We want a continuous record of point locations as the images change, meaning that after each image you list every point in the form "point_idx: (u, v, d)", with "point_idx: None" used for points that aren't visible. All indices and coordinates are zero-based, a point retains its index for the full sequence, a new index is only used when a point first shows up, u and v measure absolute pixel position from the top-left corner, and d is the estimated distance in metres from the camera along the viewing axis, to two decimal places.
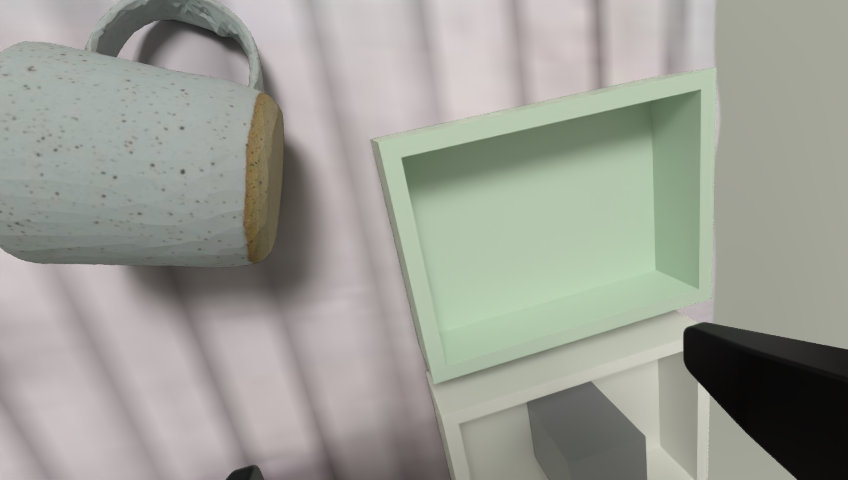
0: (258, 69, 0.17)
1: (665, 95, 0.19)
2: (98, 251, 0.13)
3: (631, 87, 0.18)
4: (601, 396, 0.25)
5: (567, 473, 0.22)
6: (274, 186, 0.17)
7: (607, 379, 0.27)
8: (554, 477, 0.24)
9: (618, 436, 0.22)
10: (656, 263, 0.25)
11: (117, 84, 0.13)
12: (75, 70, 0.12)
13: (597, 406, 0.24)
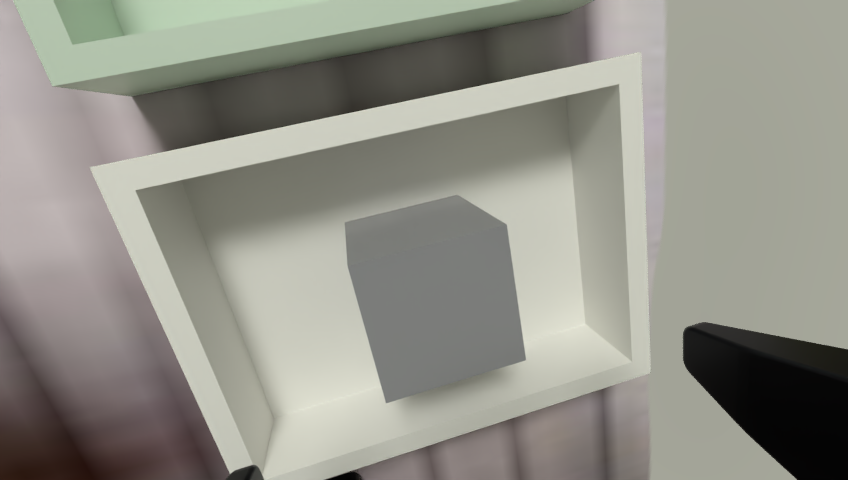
0: None
1: None
2: None
3: None
4: (462, 203, 0.15)
5: (355, 293, 0.11)
6: None
7: (486, 195, 0.16)
8: None
9: (459, 230, 0.12)
10: None
11: None
12: None
13: (448, 211, 0.14)
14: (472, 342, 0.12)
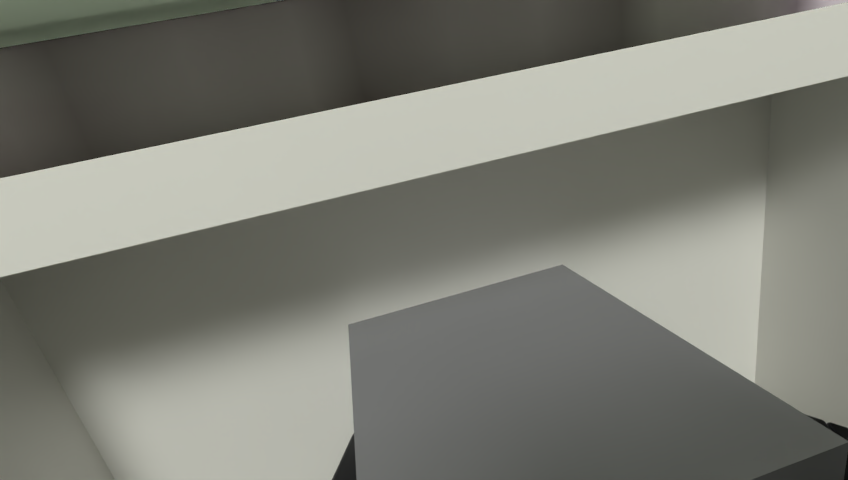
0: None
1: None
2: None
3: None
4: (595, 296, 0.07)
5: None
6: None
7: (614, 264, 0.09)
8: None
9: (684, 444, 0.04)
10: None
11: None
12: None
13: (579, 323, 0.06)
14: None
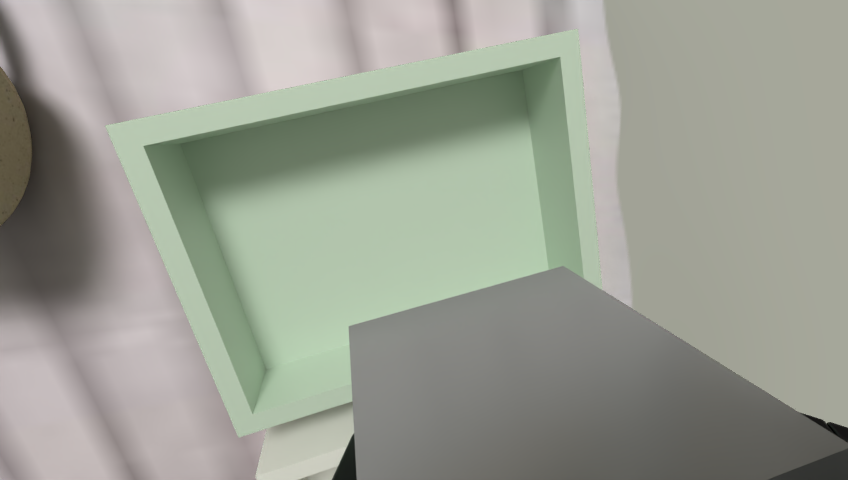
0: None
1: (511, 64, 0.14)
2: None
3: (463, 53, 0.14)
4: (596, 298, 0.07)
5: None
6: None
7: None
8: None
9: (687, 448, 0.04)
10: None
11: None
12: None
13: (580, 325, 0.06)
14: None
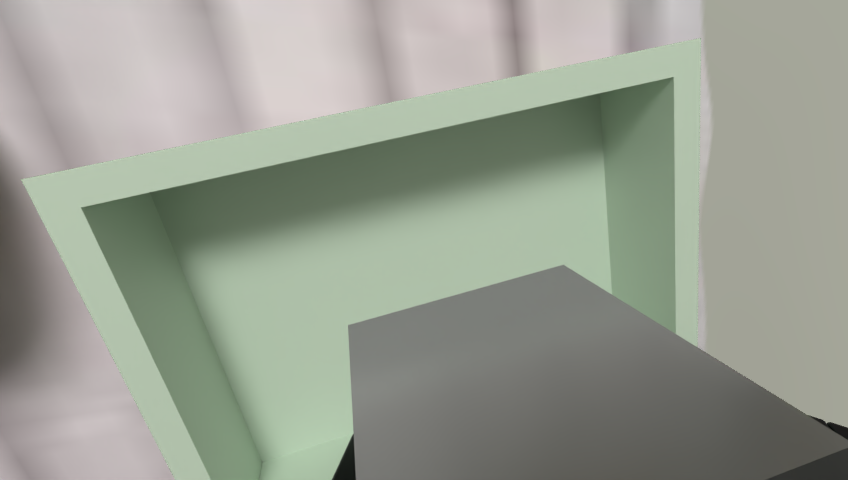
0: None
1: (608, 87, 0.10)
2: None
3: (544, 72, 0.10)
4: (596, 296, 0.07)
5: None
6: None
7: None
8: None
9: (687, 446, 0.04)
10: None
11: None
12: None
13: (580, 324, 0.06)
14: None
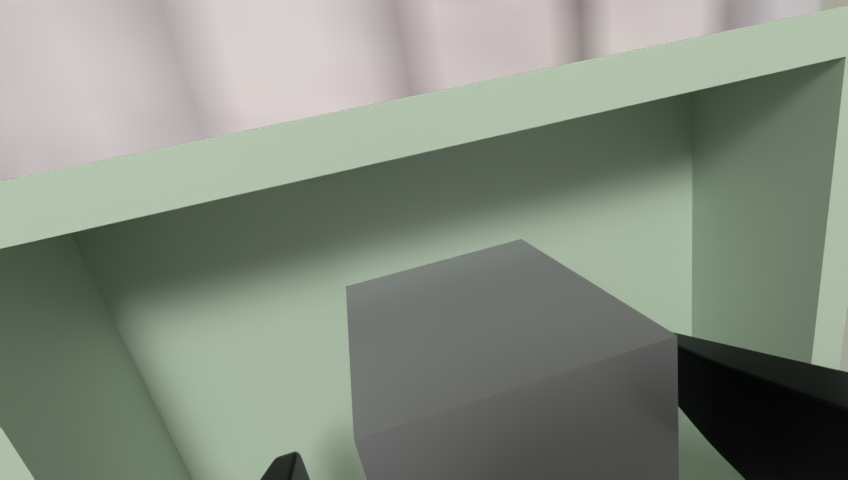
0: None
1: (753, 72, 0.07)
2: None
3: (661, 48, 0.06)
4: (540, 260, 0.09)
5: None
6: None
7: None
8: None
9: (573, 343, 0.06)
10: None
11: None
12: None
13: (523, 278, 0.08)
14: None
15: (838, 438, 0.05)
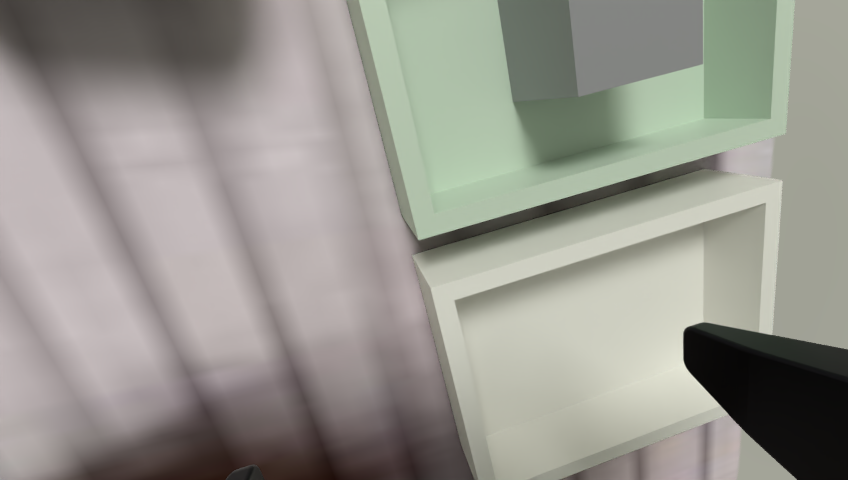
0: None
1: None
2: None
3: None
4: None
5: None
6: None
7: (641, 268, 0.21)
8: (540, 62, 0.14)
9: None
10: (705, 108, 0.19)
11: None
12: None
13: None
14: (659, 36, 0.13)
15: None
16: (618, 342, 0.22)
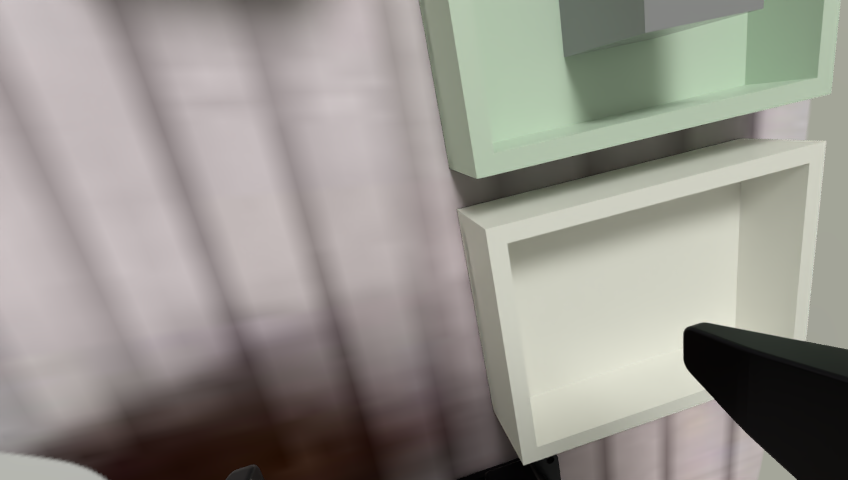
0: None
1: None
2: None
3: None
4: None
5: None
6: None
7: (678, 234, 0.22)
8: (602, 7, 0.15)
9: None
10: (747, 75, 0.20)
11: None
12: None
13: None
14: None
15: None
16: (654, 309, 0.23)
